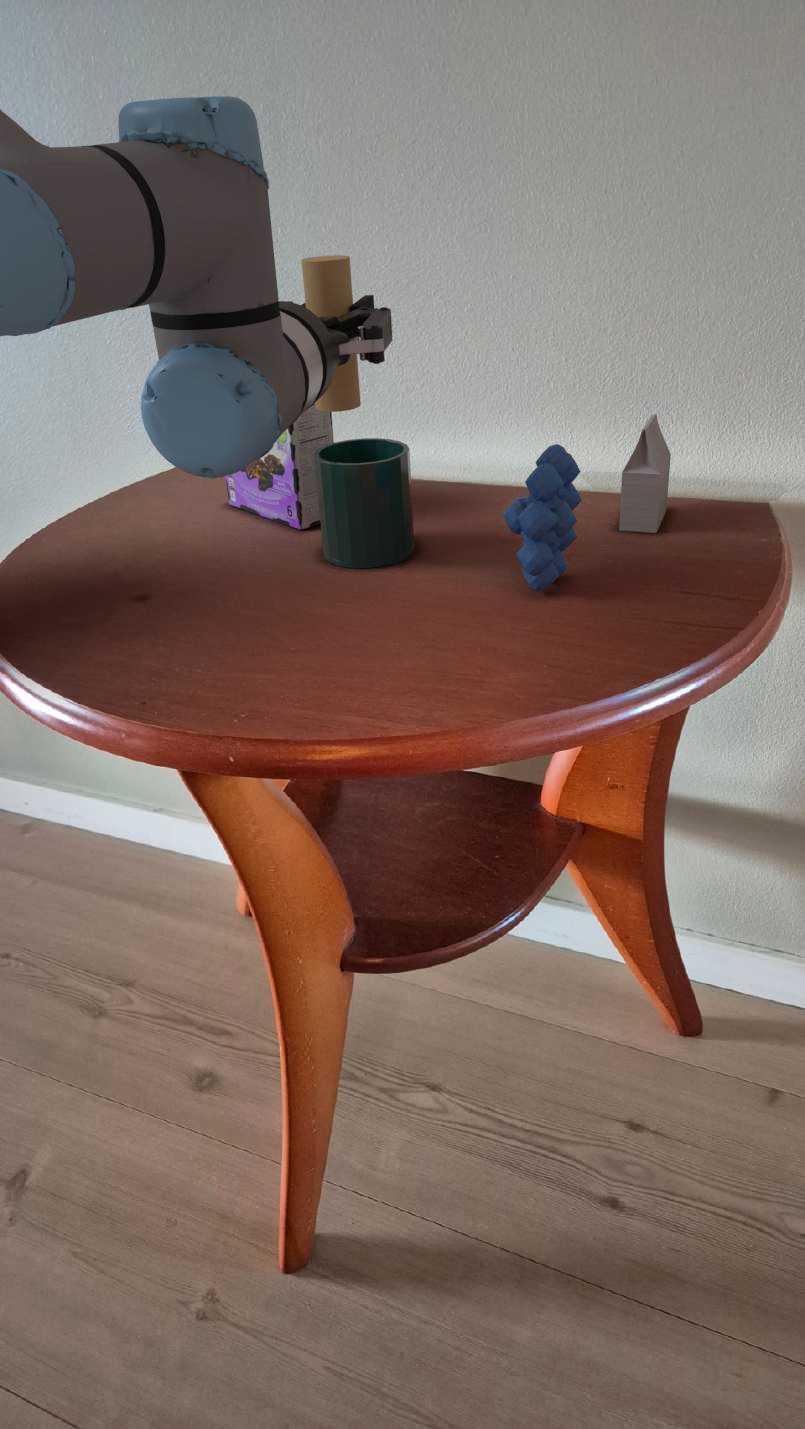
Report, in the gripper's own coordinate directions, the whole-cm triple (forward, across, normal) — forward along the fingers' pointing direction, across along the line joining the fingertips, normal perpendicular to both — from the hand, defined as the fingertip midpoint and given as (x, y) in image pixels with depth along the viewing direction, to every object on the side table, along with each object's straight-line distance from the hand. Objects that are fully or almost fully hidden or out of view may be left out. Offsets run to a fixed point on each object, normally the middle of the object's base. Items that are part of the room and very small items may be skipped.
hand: (344, 312), depth 89 cm
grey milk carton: (+8, +28, -22) cm, 36 cm away
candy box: (+10, -11, -22) cm, 27 cm away
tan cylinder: (-5, 0, -7) cm, 9 cm away
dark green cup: (-2, +1, -22) cm, 22 cm away
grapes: (-8, +18, -22) cm, 30 cm away
